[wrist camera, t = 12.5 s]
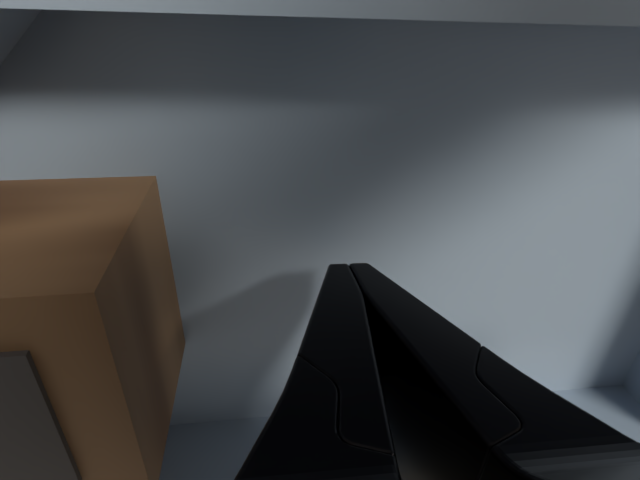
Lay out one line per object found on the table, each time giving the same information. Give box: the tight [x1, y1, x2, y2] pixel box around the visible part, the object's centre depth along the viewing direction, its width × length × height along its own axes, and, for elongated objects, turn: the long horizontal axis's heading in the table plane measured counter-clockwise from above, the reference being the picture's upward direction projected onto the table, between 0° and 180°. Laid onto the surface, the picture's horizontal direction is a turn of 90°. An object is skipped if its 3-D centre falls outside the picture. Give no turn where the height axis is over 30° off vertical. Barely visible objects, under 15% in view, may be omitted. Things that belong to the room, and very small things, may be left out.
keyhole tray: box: [0, 0, 640, 480], centre depth 10 cm, size 26×13×3 cm, turn 88°
